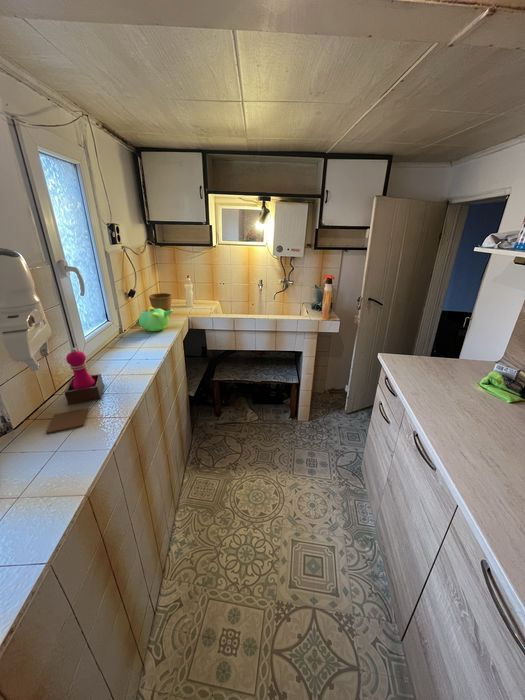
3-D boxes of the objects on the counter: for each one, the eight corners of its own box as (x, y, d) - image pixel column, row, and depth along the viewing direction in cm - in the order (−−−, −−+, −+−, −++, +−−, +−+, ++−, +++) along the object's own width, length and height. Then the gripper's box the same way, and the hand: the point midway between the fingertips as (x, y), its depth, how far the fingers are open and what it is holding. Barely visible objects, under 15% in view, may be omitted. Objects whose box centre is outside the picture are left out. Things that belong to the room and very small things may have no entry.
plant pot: (153, 322, 190) (149, 298, 184) (151, 315, 203) (148, 294, 196) (175, 319, 196) (172, 296, 189) (173, 313, 208) (170, 292, 202)
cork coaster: (47, 433, 89) (46, 432, 89) (55, 415, 98) (55, 414, 98) (83, 426, 93) (82, 424, 92) (88, 409, 101) (87, 407, 101)
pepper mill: (83, 402, 105) (68, 353, 97) (72, 396, 108) (56, 349, 100) (101, 392, 111) (88, 346, 103) (90, 387, 114) (77, 342, 106)
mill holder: (100, 399, 107) (97, 386, 105) (68, 405, 103) (64, 392, 101) (104, 385, 116) (100, 373, 114) (74, 390, 112) (70, 378, 110)
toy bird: (157, 324, 187) (153, 302, 181) (176, 327, 180) (173, 305, 174) (135, 332, 172) (130, 309, 166) (155, 337, 165) (151, 313, 159)
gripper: (22, 305, 81) (38, 349, 86) (-10, 328, 63) (13, 381, 69) (48, 303, 83) (62, 346, 88) (24, 324, 65) (43, 376, 71)
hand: (40, 362), depth 79 cm, fingers open, 8 cm apart
